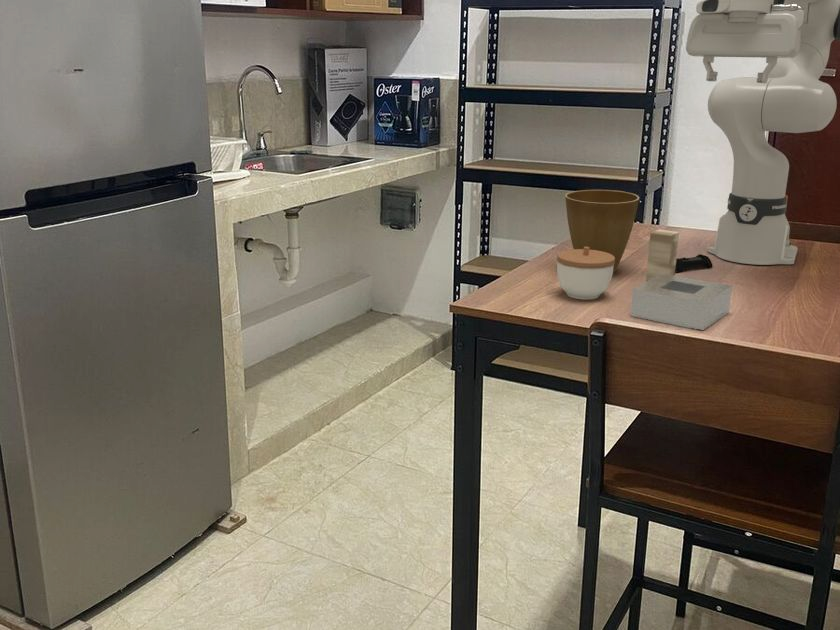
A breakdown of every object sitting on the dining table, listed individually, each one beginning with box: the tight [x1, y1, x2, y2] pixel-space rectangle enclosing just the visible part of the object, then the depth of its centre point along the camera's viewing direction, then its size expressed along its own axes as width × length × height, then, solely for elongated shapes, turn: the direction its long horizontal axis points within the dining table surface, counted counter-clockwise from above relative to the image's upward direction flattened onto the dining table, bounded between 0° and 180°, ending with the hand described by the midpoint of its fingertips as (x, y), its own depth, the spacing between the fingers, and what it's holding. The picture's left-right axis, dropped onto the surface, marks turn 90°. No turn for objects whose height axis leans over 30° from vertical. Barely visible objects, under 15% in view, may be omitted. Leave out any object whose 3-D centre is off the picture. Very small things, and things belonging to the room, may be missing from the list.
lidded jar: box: [556, 247, 615, 301], centre depth 160 cm, size 11×11×9 cm
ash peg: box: [645, 229, 680, 282], centre depth 161 cm, size 4×4×12 cm
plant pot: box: [564, 189, 640, 274], centre depth 176 cm, size 15×15×16 cm
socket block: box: [630, 274, 733, 331], centre depth 150 cm, size 13×13×5 cm
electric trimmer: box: [675, 254, 713, 273], centre depth 179 cm, size 4×16×3 cm, turn 115°
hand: (736, 82), depth 160 cm, fingers open, 8 cm apart
